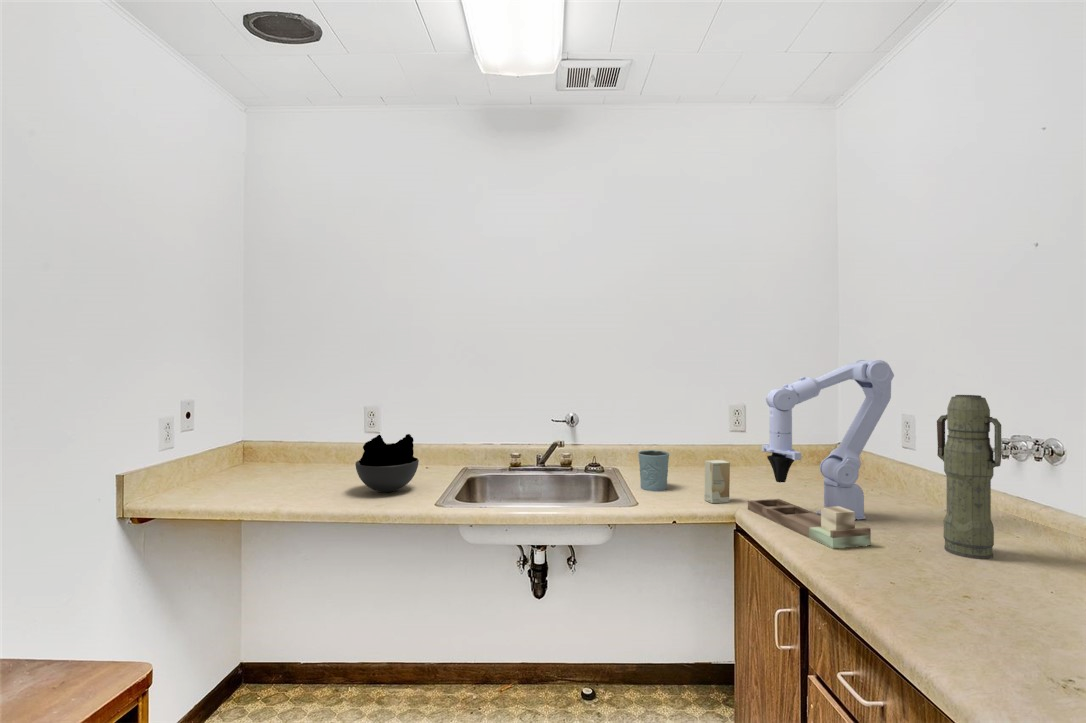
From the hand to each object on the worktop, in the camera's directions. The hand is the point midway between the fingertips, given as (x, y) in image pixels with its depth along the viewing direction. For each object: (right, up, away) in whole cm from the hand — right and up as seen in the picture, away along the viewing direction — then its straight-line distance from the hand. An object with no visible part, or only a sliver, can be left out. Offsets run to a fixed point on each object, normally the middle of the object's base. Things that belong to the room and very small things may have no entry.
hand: (780, 481), depth 152 cm
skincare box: (-13, -10, +16) cm, 22 cm away
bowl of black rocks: (-117, -10, +30) cm, 121 cm away
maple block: (+4, -7, -21) cm, 23 cm away
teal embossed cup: (-28, -10, +33) cm, 44 cm away
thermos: (+29, -10, -29) cm, 42 cm away
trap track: (+2, -9, -9) cm, 13 cm away
